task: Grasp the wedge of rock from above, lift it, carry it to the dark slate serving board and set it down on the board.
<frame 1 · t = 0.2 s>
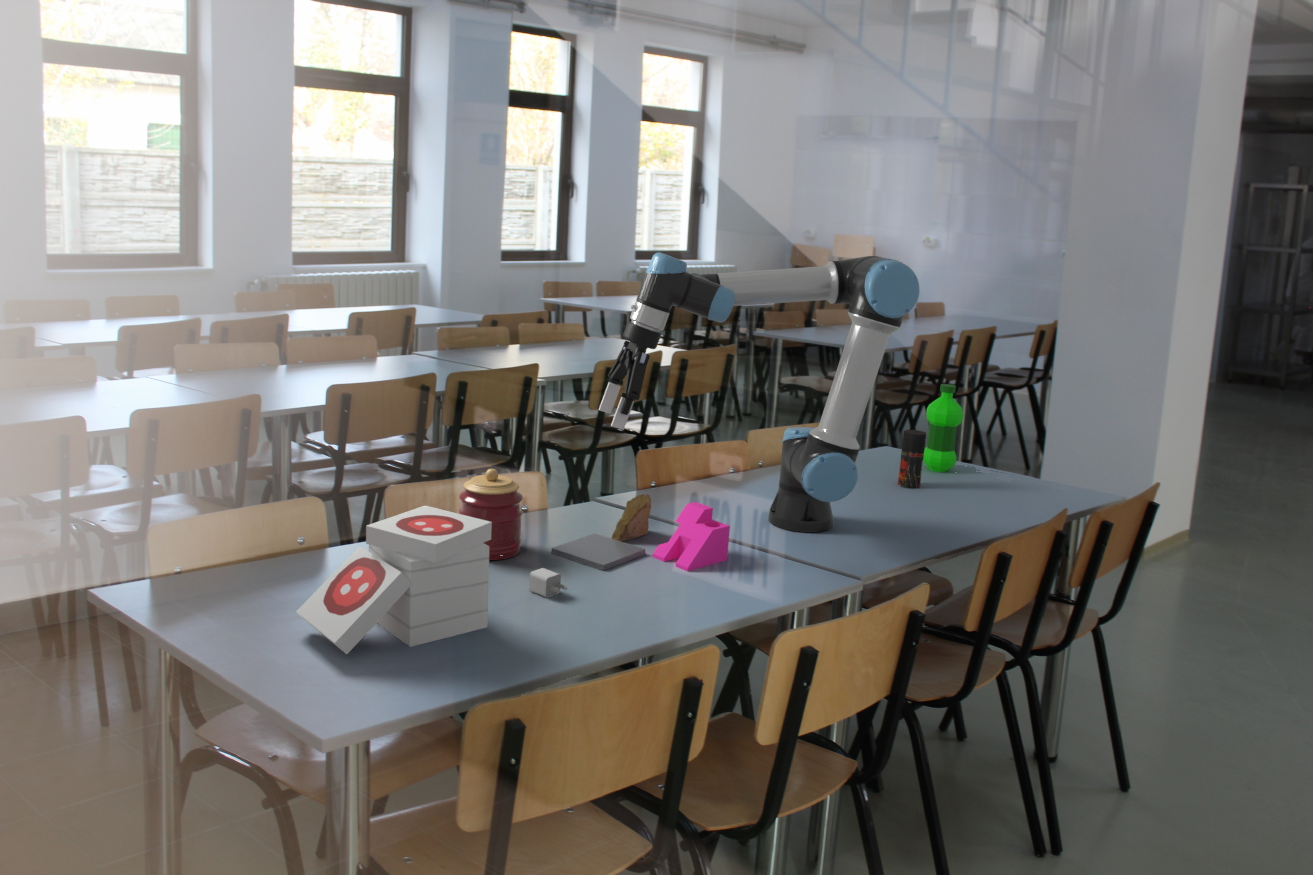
hand: (610, 419, 232), 27 cm above the table, tool tilted 15°, fingers open, 13 cm apart
rock: (628, 537, 241), on the table
canister: (489, 551, 226), on the table
slate board: (598, 553, 228), on the table
deodorant: (908, 486, 298), on the table
bracket: (689, 559, 229), on the table
plastic bottle: (937, 470, 317), on the table
usb wall charger: (549, 595, 205), on the table
pizza boxes: (400, 630, 185), on the table
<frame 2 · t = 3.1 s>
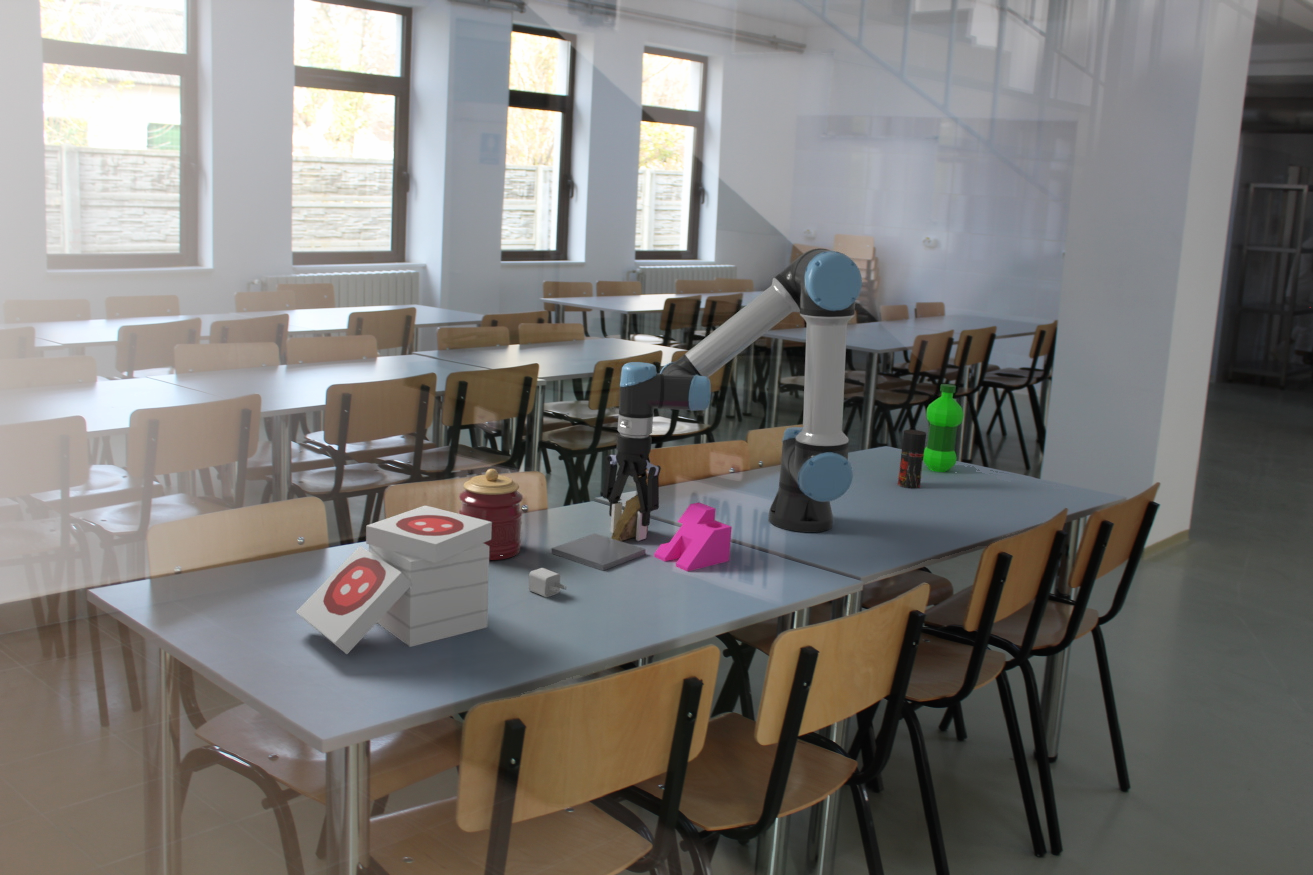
hand: (628, 534, 241), 0 cm above the table, tool pointing down, fingers open, 6 cm apart
rock: (628, 536, 241), on the table, touching gripper
everything else where it was.
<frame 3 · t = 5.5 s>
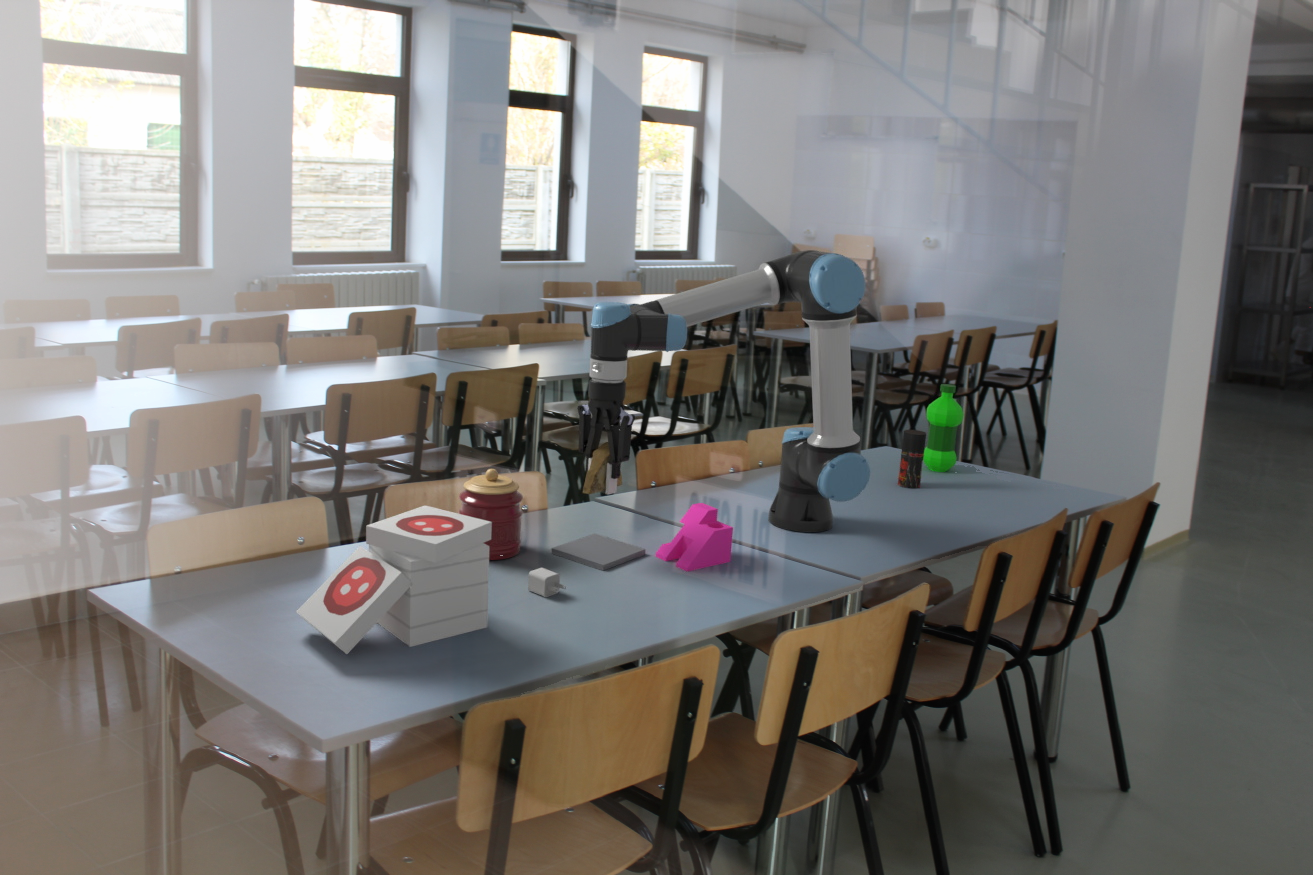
hand: (601, 490, 225), 14 cm above the table, tool pointing down, fingers closed on rock, 4 cm apart
rock: (602, 490, 225), point 14 cm above the table, touching gripper
everything else where it was.
when the fingers open (3 cm above the table, at t = 7.6 s): rock drops 2 cm, resting on slate board.
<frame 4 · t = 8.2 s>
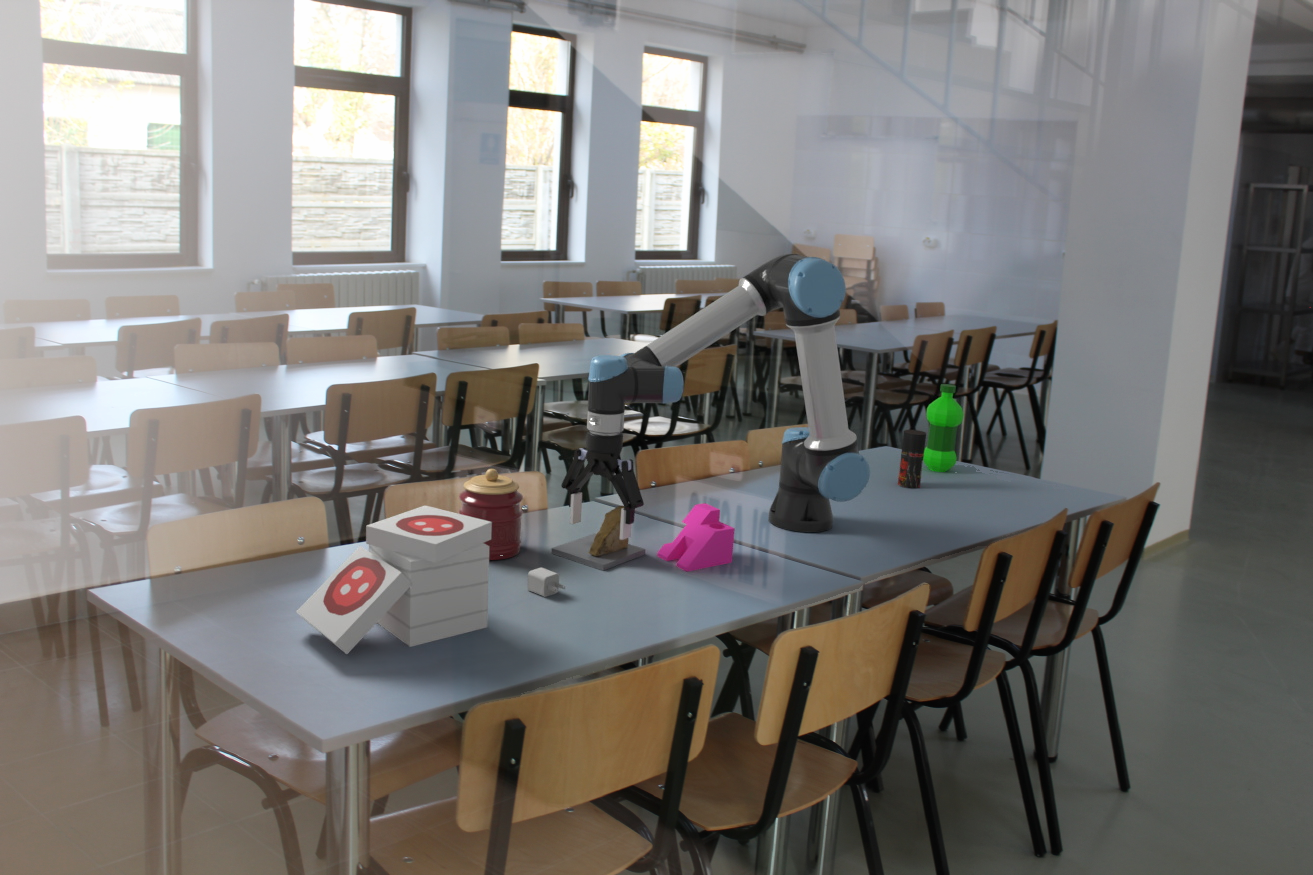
hand: (599, 530, 227), 5 cm above the table, tool pointing down, fingers open, 13 cm apart
rock: (607, 550, 228), point 1 cm above the table, touching slate board
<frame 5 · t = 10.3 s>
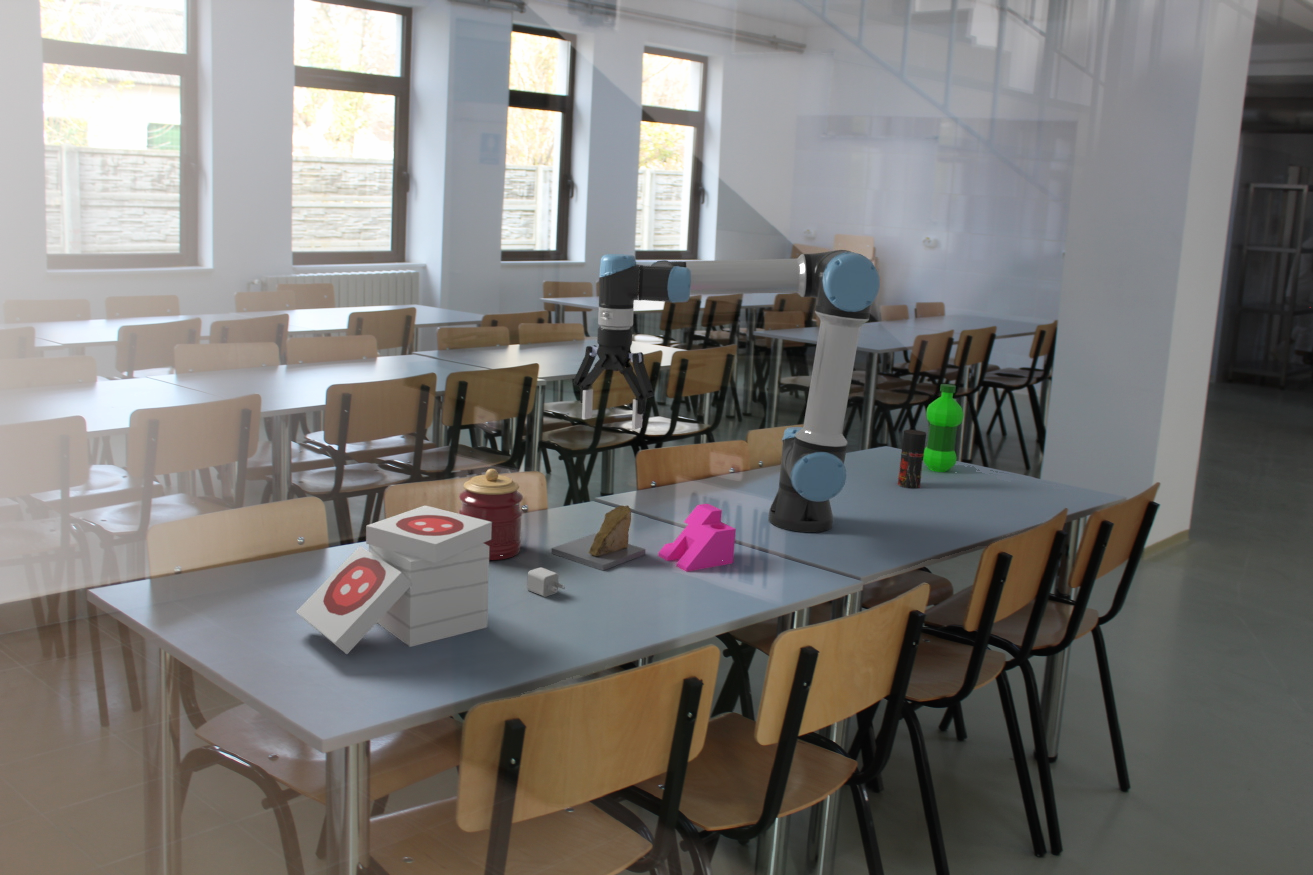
hand: (611, 423, 239), 25 cm above the table, tool pointing down, fingers open, 13 cm apart
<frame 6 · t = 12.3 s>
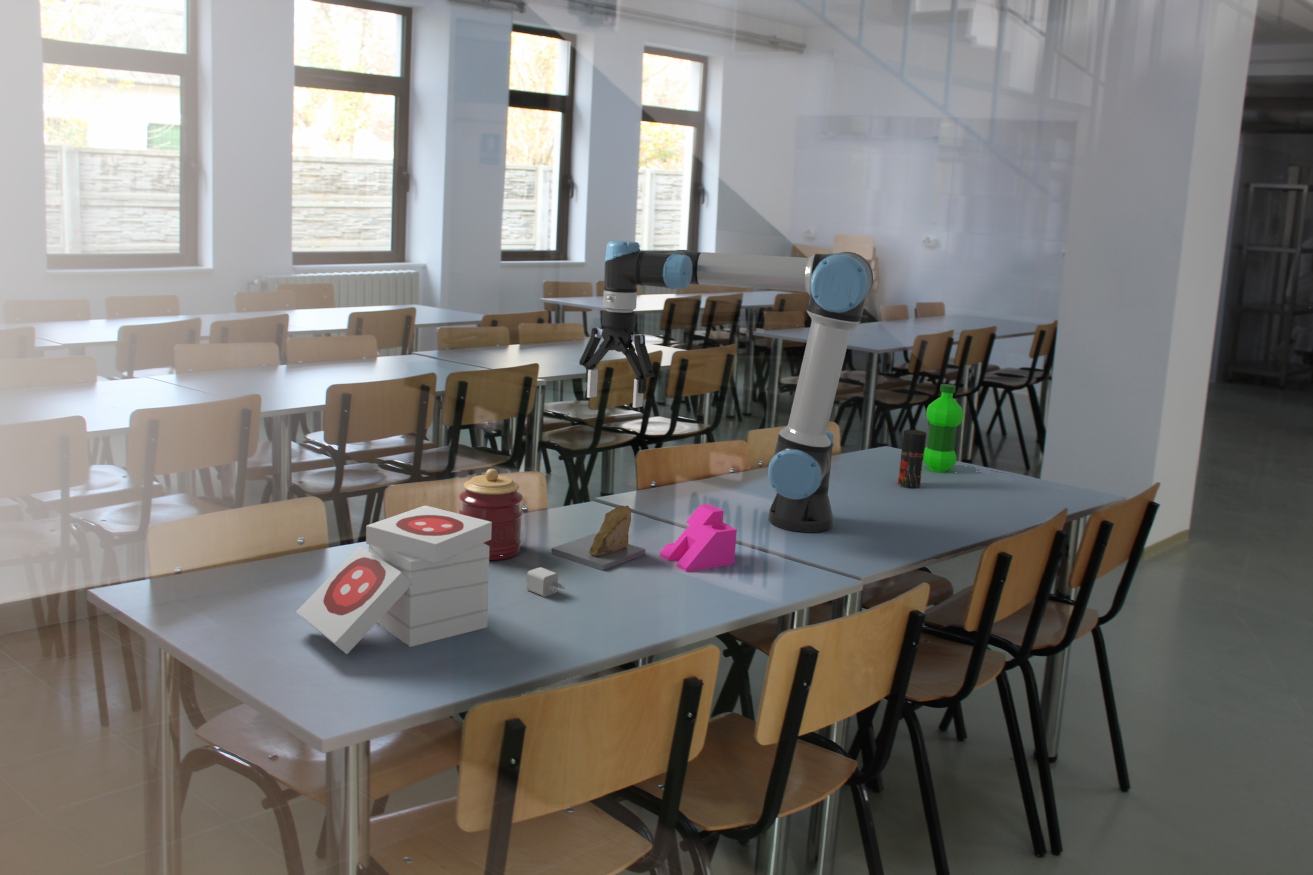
hand: (614, 402, 251), 27 cm above the table, tool pointing down, fingers open, 13 cm apart
at the end: rock inside the target area on the slate board (1.9 cm from its centre), point 1.0 cm above the slate board's base; rock tilted 0°; the gripper is holding nothing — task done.
